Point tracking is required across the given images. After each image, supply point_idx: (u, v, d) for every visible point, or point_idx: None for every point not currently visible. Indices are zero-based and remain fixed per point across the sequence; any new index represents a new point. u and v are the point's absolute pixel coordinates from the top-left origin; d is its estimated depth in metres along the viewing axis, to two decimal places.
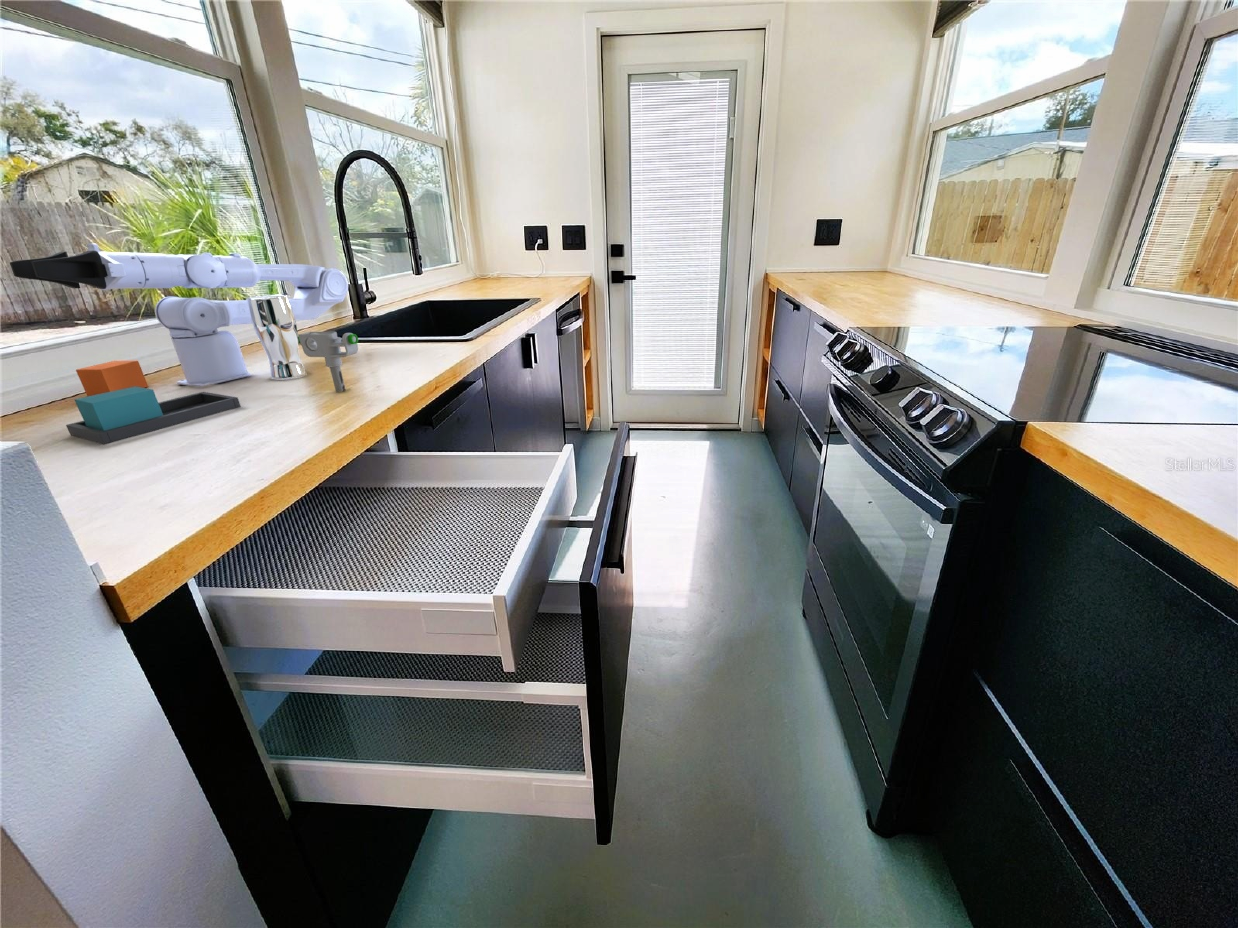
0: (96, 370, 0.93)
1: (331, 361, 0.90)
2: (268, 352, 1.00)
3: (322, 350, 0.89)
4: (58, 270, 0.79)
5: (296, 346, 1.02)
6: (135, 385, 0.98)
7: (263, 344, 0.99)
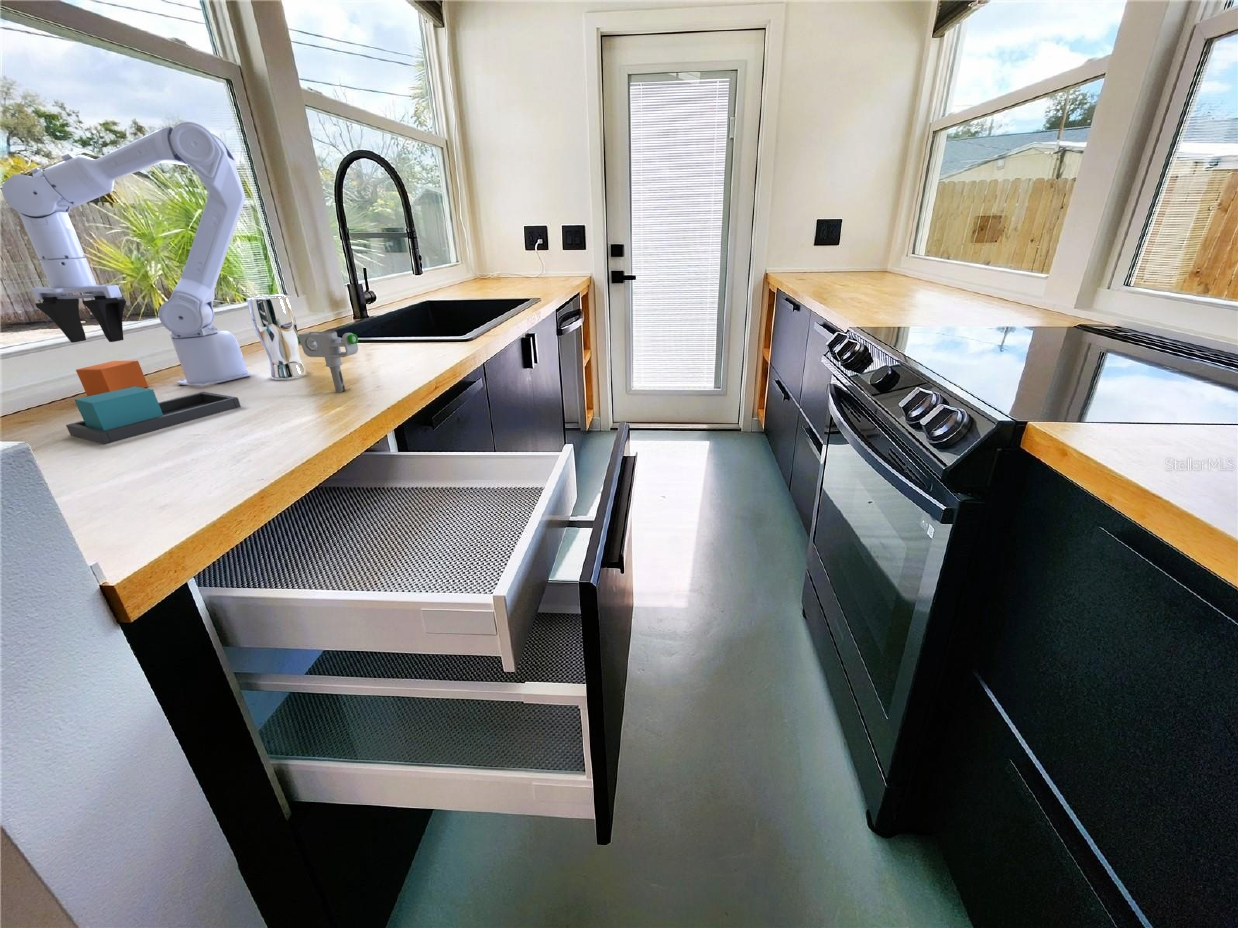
0: (96, 370, 0.93)
1: (331, 361, 0.90)
2: (268, 352, 1.00)
3: (322, 350, 0.89)
4: (114, 327, 0.93)
5: (296, 346, 1.02)
6: (135, 385, 0.98)
7: (263, 344, 0.99)
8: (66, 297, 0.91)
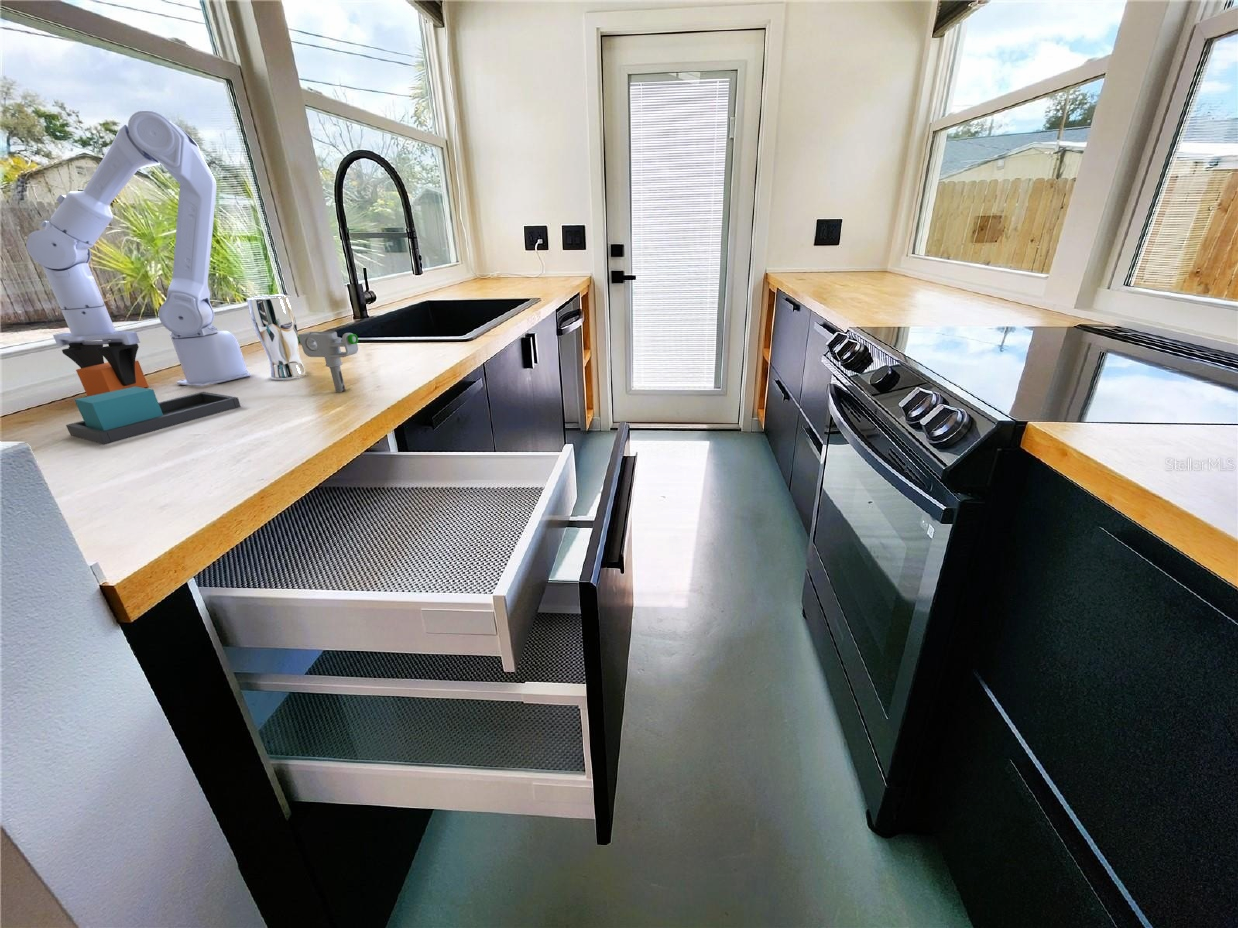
0: (96, 370, 0.93)
1: (331, 361, 0.90)
2: (268, 352, 1.00)
3: (322, 350, 0.89)
4: (127, 371, 0.96)
5: (296, 346, 1.02)
6: (135, 385, 0.98)
7: (263, 344, 0.99)
8: (86, 343, 0.94)
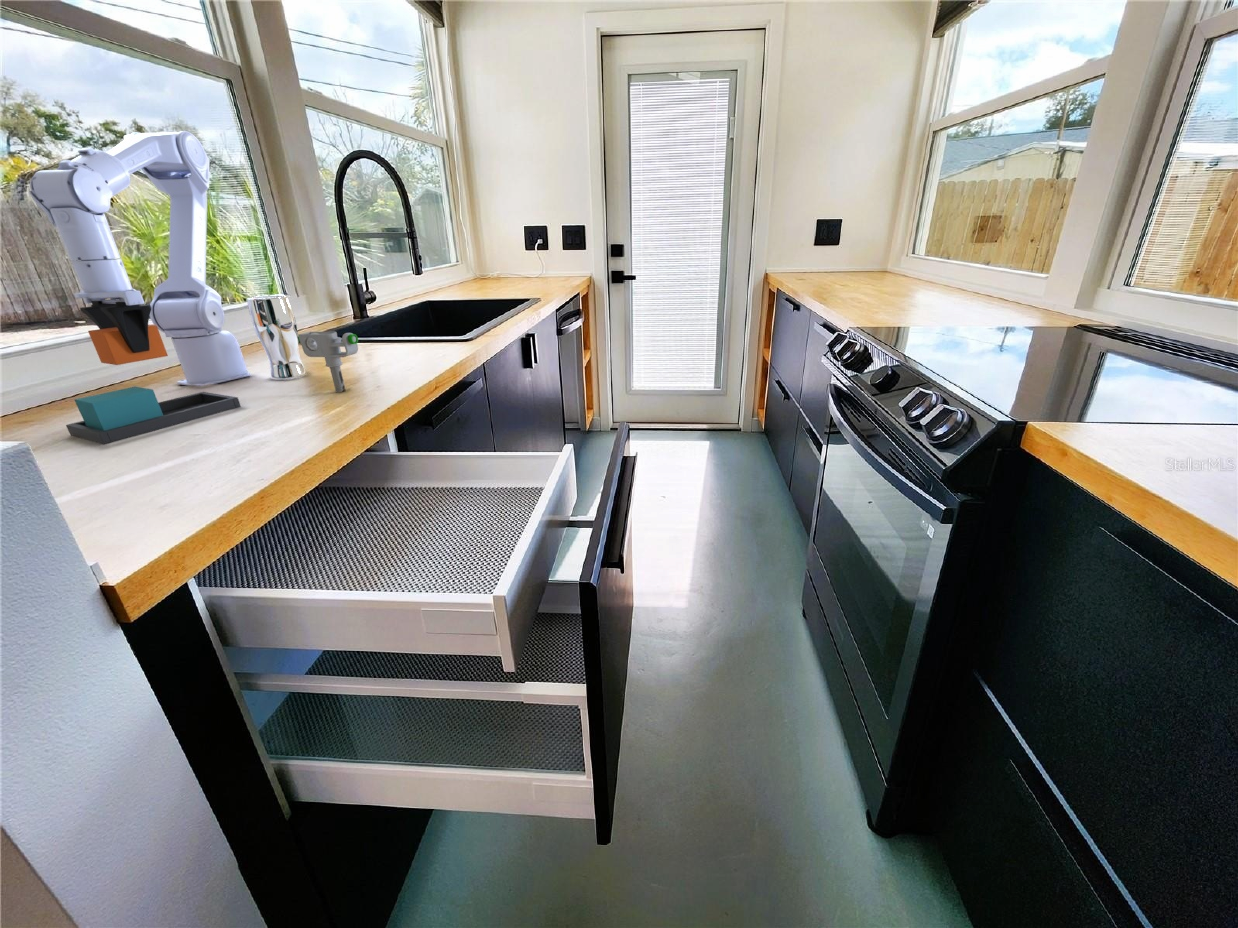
0: (100, 333, 0.81)
1: (331, 361, 0.90)
2: (268, 352, 1.00)
3: (322, 350, 0.89)
4: (137, 336, 0.83)
5: (296, 346, 1.02)
6: (150, 353, 0.86)
7: (263, 344, 0.99)
8: (104, 302, 0.83)
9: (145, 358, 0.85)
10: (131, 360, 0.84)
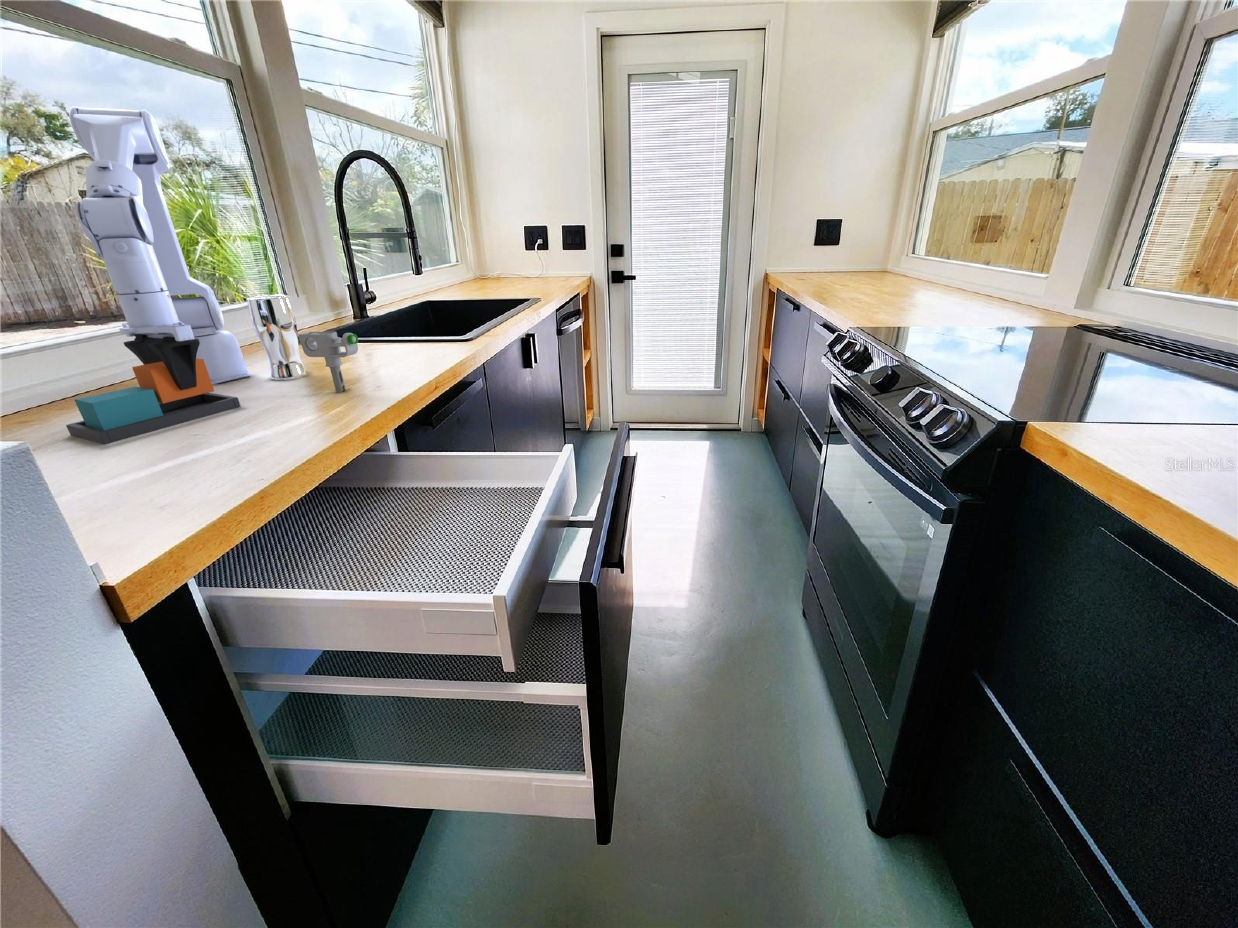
0: (147, 370, 0.76)
1: (331, 361, 0.90)
2: (268, 352, 1.00)
3: (322, 350, 0.89)
4: (185, 372, 0.78)
5: (296, 346, 1.02)
6: (196, 389, 0.81)
7: (263, 344, 0.99)
8: (149, 335, 0.78)
9: (192, 394, 0.80)
10: (178, 397, 0.79)
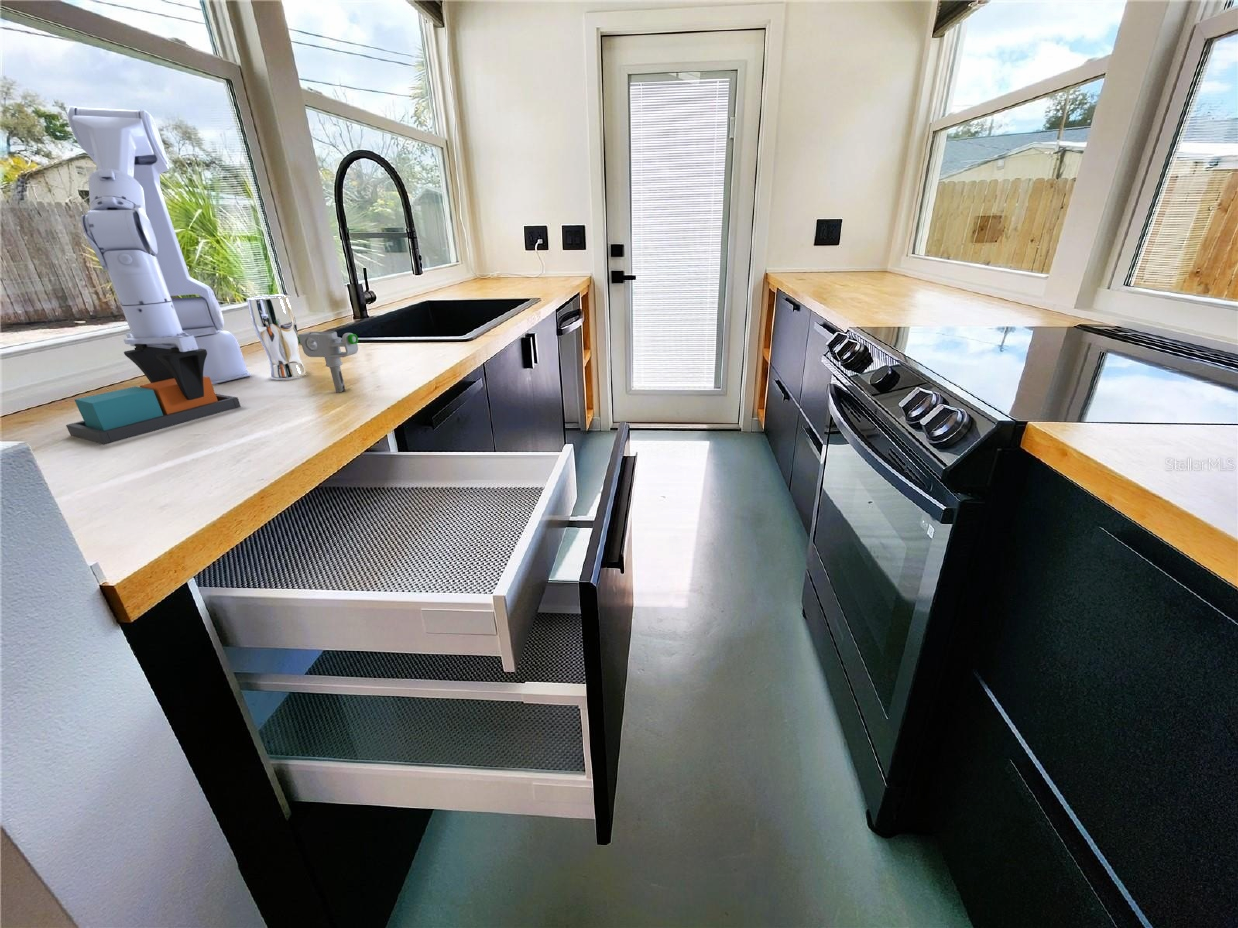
0: (154, 389, 0.77)
1: (331, 361, 0.90)
2: (268, 352, 1.00)
3: (322, 350, 0.89)
4: (192, 382, 0.78)
5: (296, 346, 1.02)
6: None
7: (263, 344, 0.99)
8: (153, 345, 0.79)
9: None
10: None
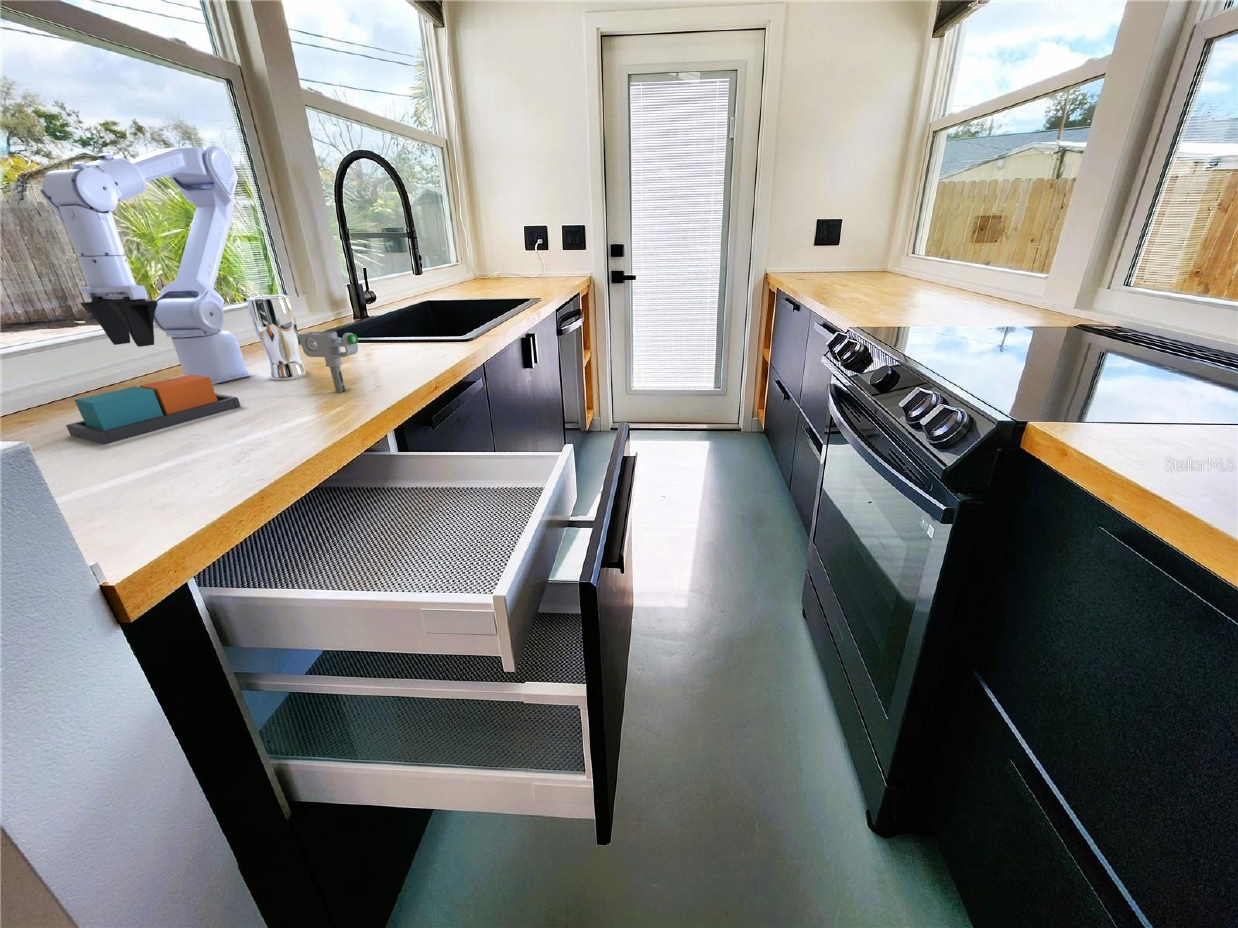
0: (154, 389, 0.77)
1: (331, 361, 0.90)
2: (268, 352, 1.00)
3: (322, 350, 0.89)
4: (143, 330, 0.86)
5: (296, 346, 1.02)
6: None
7: (263, 344, 0.99)
8: (108, 297, 0.86)
9: None
10: None
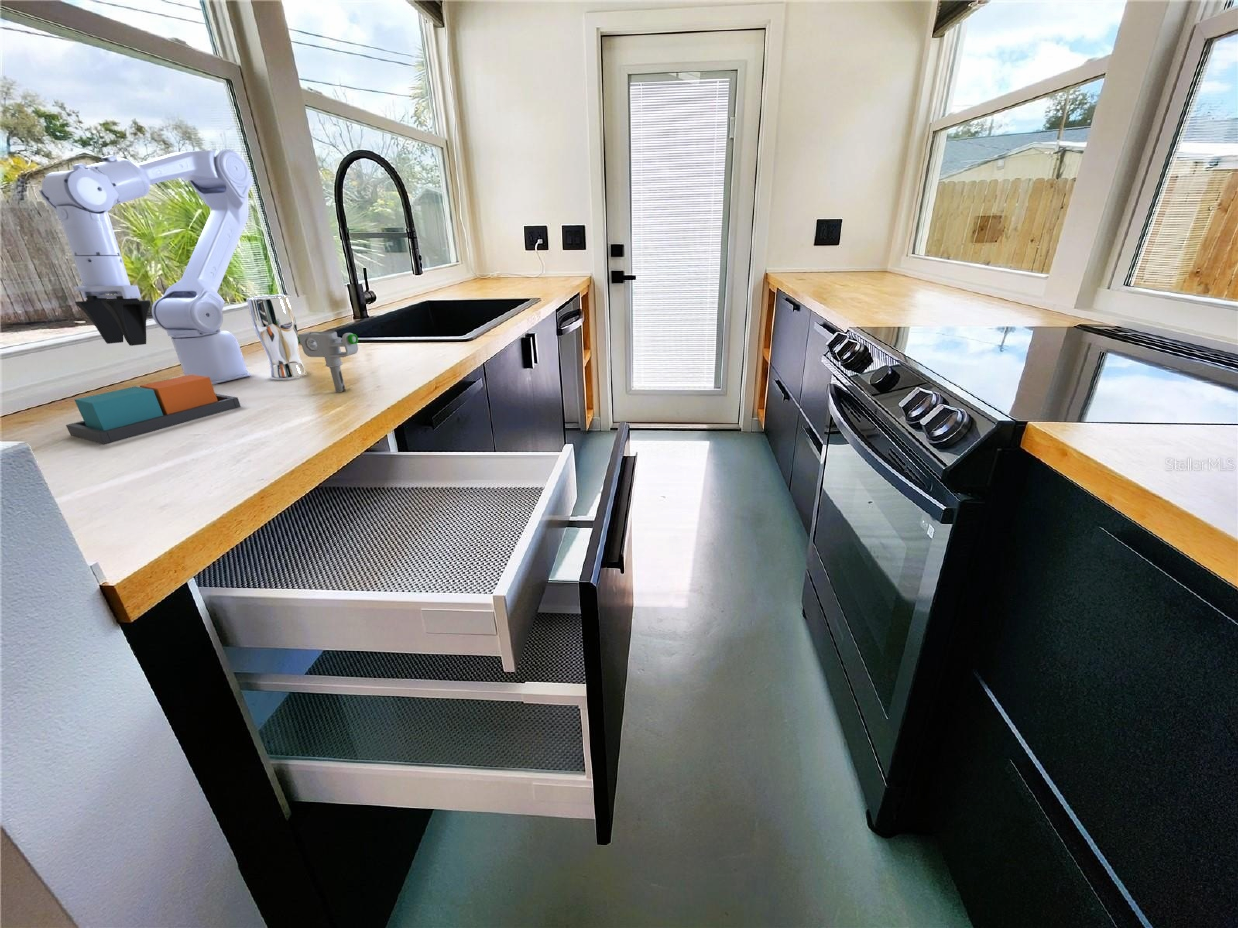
0: (154, 389, 0.77)
1: (331, 361, 0.90)
2: (268, 352, 1.00)
3: (322, 350, 0.89)
4: (135, 330, 0.86)
5: (296, 346, 1.02)
6: None
7: (263, 344, 0.99)
8: (102, 296, 0.87)
9: None
10: None
